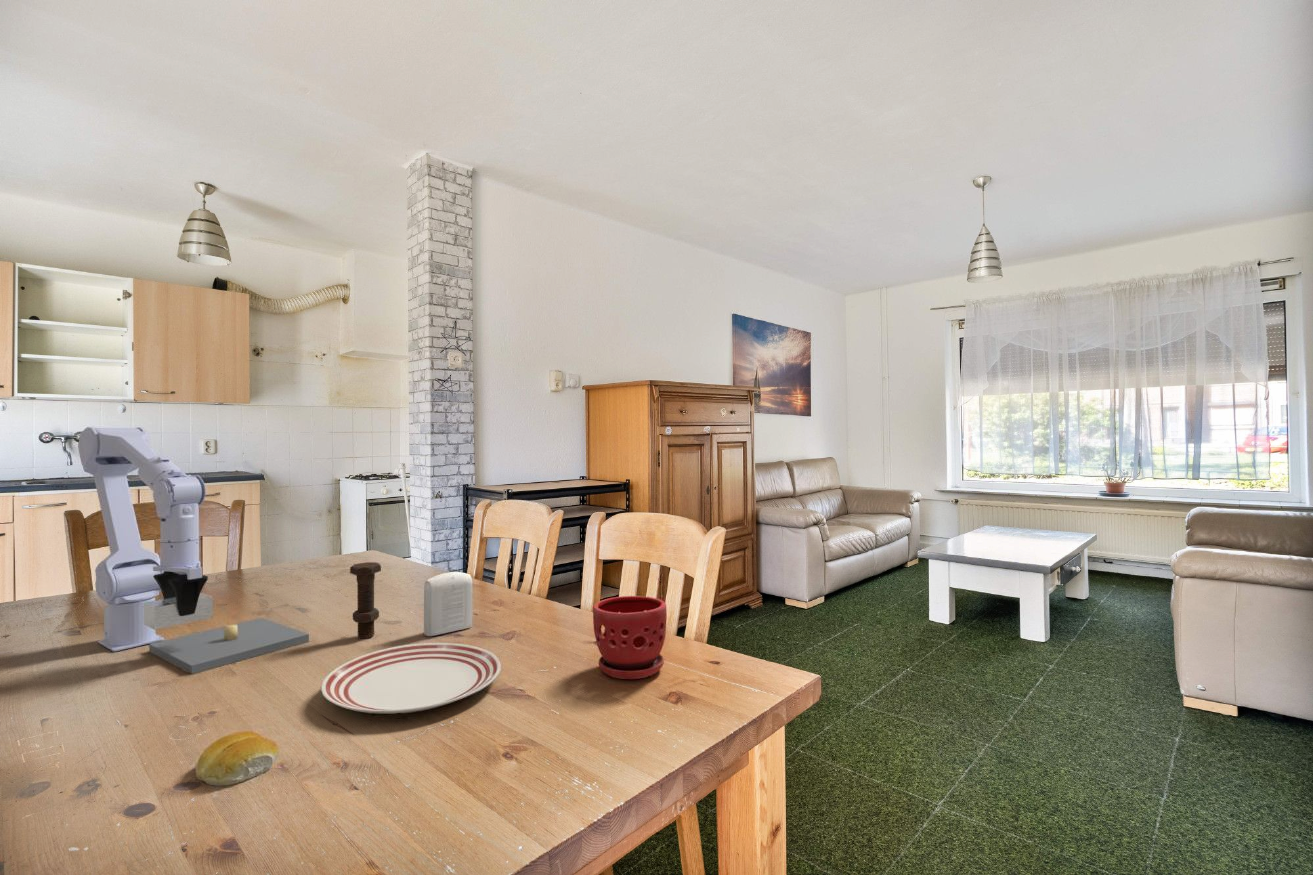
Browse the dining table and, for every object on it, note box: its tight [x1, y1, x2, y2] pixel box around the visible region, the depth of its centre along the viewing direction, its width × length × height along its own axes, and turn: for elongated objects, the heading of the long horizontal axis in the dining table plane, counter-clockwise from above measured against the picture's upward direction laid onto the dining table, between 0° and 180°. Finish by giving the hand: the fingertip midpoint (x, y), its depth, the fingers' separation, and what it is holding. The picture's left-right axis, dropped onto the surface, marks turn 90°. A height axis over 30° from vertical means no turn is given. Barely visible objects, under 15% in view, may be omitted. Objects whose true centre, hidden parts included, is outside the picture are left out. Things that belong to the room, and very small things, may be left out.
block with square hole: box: [144, 591, 214, 630], centre depth 115 cm, size 6×9×4 cm, turn 145°
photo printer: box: [423, 571, 473, 637], centre depth 130 cm, size 10×4×12 cm, turn 134°
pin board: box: [148, 617, 310, 675], centre depth 121 cm, size 20×20×4 cm
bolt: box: [349, 561, 382, 639], centre depth 126 cm, size 6×5×15 cm
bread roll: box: [194, 730, 280, 787], centre depth 77 cm, size 8×9×4 cm
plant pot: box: [592, 595, 668, 680], centre depth 109 cm, size 13×13×12 cm
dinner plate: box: [320, 642, 502, 715], centre depth 101 cm, size 27×27×3 cm
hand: (180, 612), depth 115 cm, fingers closed on block with square hole, 6 cm apart
